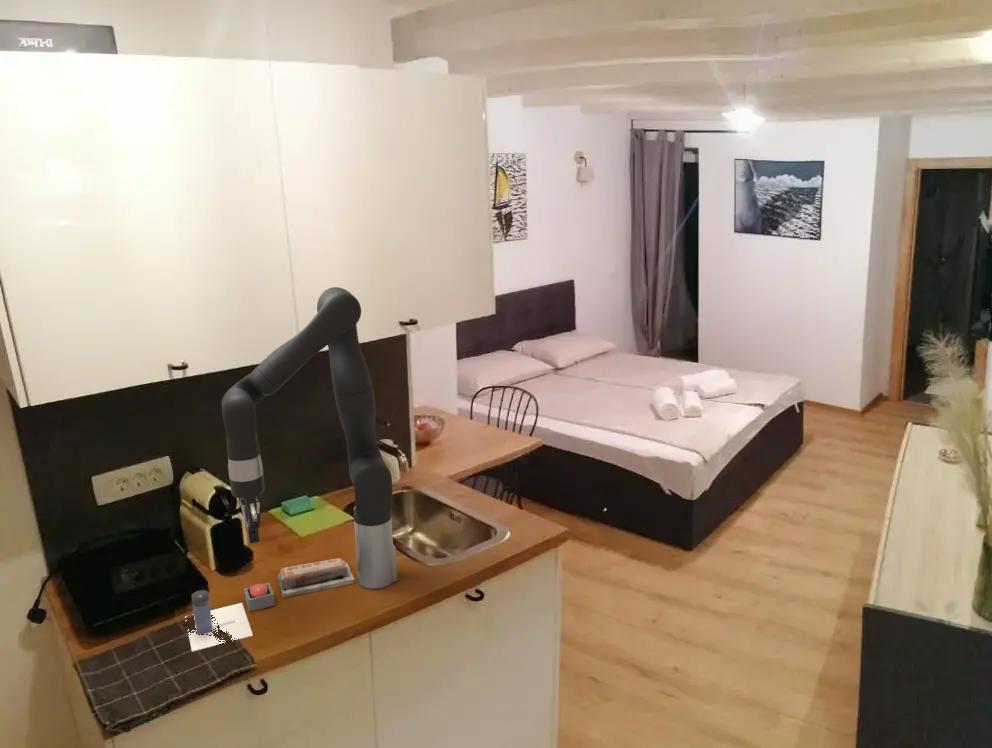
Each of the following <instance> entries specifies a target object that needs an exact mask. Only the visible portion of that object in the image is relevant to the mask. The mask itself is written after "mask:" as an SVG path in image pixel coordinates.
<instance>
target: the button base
mask: <svg viewBox="0 0 992 748" xmlns="http://www.w3.org/2000/svg"><path fill="white" fill-rule="evenodd" d="M265 584H266V585H267V590H268V595H264V596H259V597H255V598H251V595H250V588H251V587H252V586H249V587H246V588H243V590H244V591H243V592H244V593H243V594H244V599H245V602H246V605H247V609H248V612H249V613H250V612H253V611H259V610H262V609H265V608H269V607H274V606H276V602H275V594H274V591H273V589H272V586H271V583H270V582H266V583H265Z"/></svg>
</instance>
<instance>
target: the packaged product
mask: <svg viewBox="0 0 992 748" xmlns="http://www.w3.org/2000/svg"><path fill="white" fill-rule="evenodd" d="M277 579H278V585H279V588H280V591H281V596H282V598H288V597H293V596H297V595H303V594H304V595H305V594H310V593H314V592H319V591H325V590H331V589H334V588H338V587H343V586H348V585H352V584H355V578H354V575H353V573H352V571H351V569H350V566H349V565H348V563H347V562H346V561H345V560H343V558H340V557H339V558H332V559H327V560H320V561H317V562H309V563H304V564H298V565H292V566H286V567H285V566H284V567H282V568H281V569H280V571H279V574H278V576H277Z"/></svg>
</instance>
